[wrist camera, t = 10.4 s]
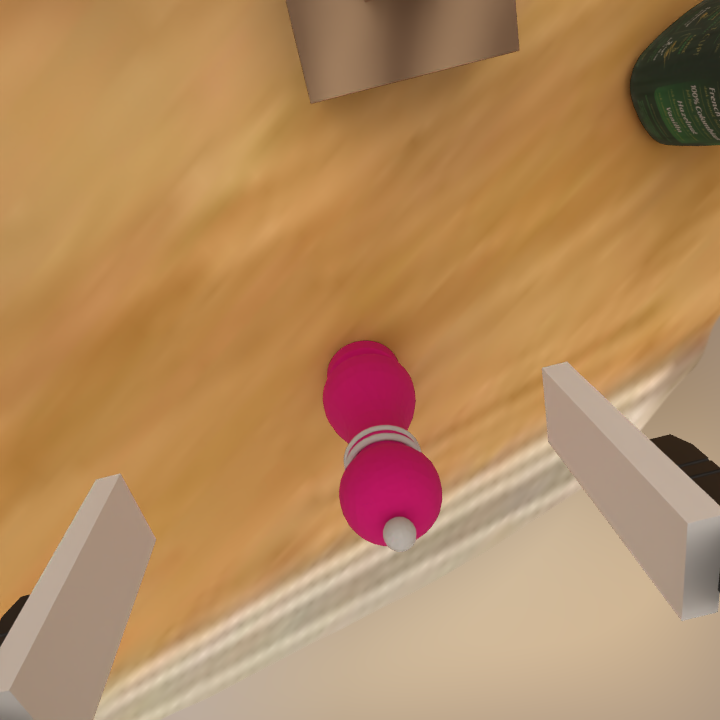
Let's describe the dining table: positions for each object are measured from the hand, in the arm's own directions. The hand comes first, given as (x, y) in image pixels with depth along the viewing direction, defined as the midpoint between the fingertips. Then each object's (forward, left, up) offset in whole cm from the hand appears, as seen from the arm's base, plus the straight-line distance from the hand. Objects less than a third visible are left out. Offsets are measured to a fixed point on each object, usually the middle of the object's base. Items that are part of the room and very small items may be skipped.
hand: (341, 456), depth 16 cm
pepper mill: (+1, -11, -27) cm, 29 cm away
